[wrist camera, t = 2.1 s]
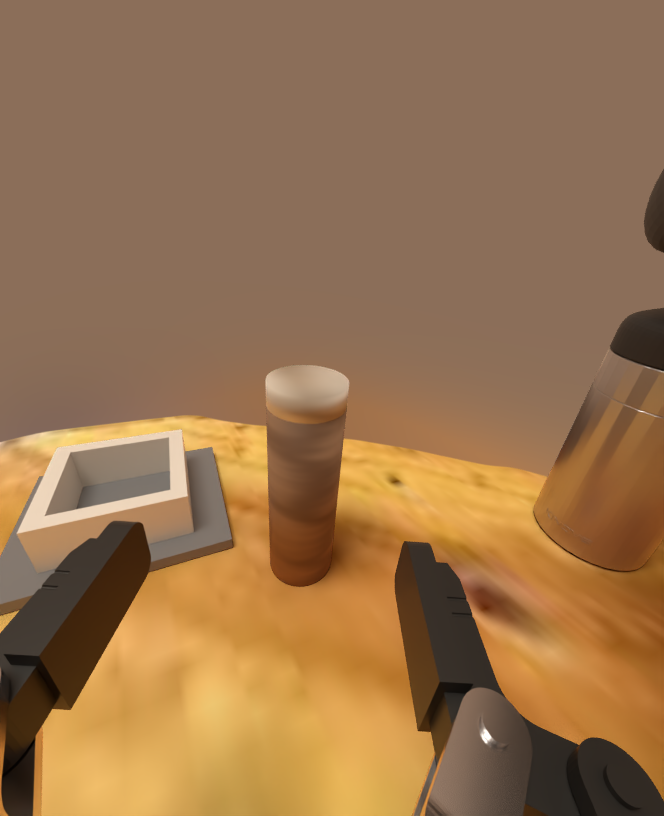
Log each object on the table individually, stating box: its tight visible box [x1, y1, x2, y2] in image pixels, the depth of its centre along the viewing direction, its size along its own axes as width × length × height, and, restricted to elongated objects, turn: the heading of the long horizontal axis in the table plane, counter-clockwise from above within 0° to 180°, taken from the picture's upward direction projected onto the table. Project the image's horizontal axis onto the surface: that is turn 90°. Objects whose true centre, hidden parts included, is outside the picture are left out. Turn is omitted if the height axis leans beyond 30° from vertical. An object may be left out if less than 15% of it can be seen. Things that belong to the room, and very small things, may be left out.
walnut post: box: [266, 365, 349, 586], centre depth 24 cm, size 5×5×16 cm
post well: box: [0, 429, 233, 615], centre depth 29 cm, size 16×14×5 cm
